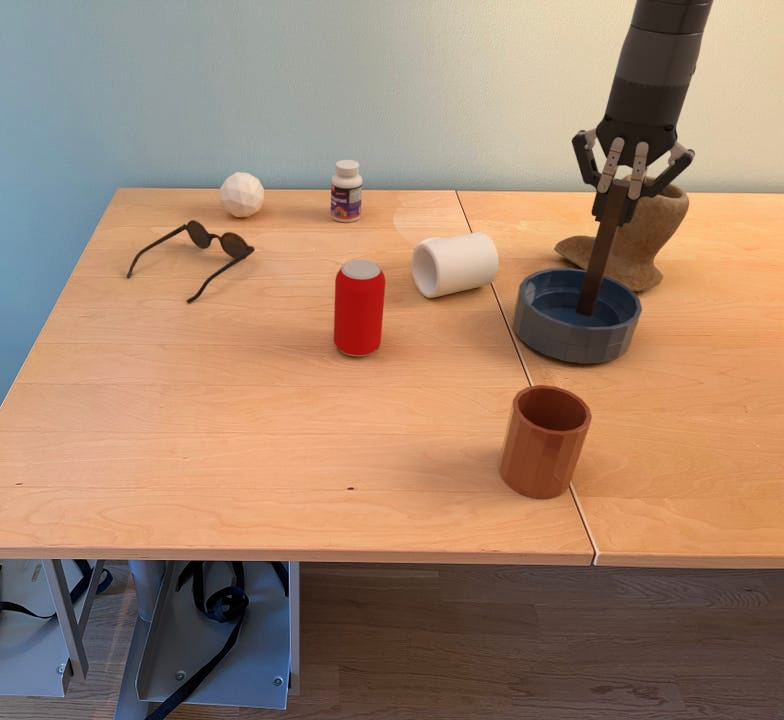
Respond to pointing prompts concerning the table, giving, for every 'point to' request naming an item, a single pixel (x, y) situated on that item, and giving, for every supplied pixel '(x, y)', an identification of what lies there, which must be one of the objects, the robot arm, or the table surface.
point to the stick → (602, 247)
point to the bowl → (575, 317)
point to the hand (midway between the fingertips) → (610, 221)
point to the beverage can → (358, 307)
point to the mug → (454, 264)
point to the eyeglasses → (203, 239)
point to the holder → (543, 441)
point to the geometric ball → (242, 194)
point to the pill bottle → (346, 192)
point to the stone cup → (635, 239)
